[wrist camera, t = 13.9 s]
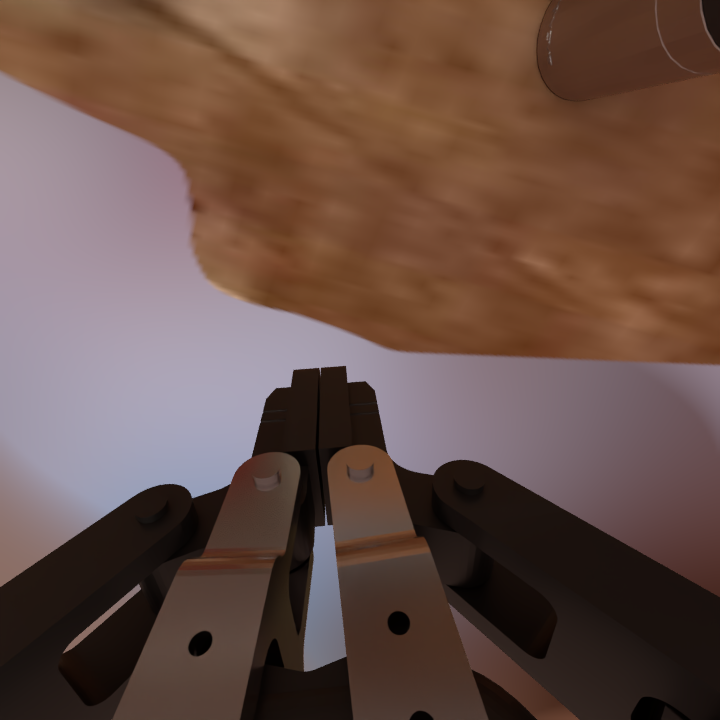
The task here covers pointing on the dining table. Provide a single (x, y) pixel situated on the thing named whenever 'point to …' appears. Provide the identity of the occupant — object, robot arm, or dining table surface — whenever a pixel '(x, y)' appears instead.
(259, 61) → the dining table surface
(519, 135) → the dining table surface
